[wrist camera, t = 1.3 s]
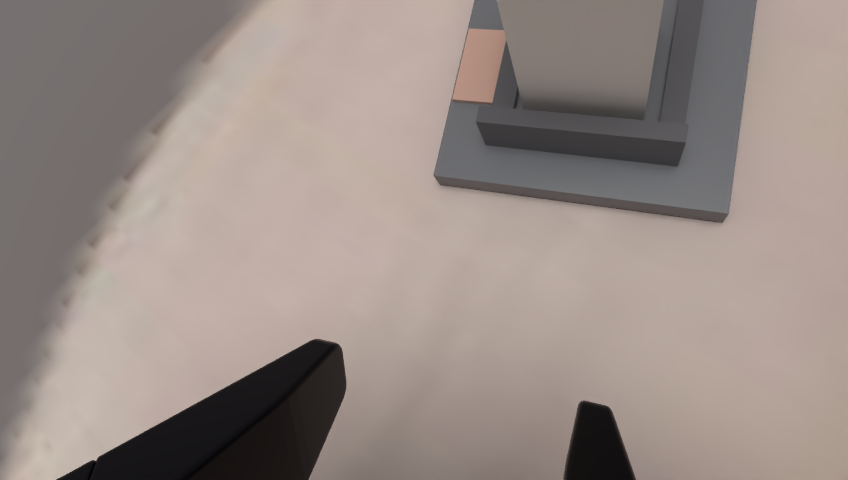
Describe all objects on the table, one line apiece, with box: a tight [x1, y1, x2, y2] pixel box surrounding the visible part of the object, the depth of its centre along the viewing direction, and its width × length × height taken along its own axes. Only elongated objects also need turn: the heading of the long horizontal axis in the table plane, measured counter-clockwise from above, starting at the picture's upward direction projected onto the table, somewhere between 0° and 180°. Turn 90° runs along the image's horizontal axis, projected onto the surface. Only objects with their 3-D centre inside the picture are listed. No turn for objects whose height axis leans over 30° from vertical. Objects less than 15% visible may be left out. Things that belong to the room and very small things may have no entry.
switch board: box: [434, 0, 757, 222], centre depth 22 cm, size 14×10×3 cm
